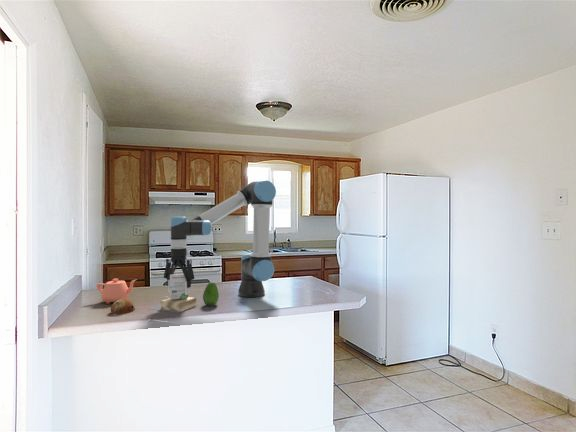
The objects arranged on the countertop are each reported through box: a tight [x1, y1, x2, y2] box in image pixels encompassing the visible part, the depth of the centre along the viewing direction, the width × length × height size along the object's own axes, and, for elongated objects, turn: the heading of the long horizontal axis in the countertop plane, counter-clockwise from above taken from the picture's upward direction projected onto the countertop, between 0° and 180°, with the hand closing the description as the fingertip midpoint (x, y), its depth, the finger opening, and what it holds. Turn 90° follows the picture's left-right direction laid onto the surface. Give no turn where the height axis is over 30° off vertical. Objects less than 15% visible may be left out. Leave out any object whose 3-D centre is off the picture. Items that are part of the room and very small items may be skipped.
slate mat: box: [148, 304, 198, 314], centre depth 190 cm, size 18×16×1 cm
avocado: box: [202, 282, 220, 307], centre depth 194 cm, size 8×8×12 cm
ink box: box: [169, 273, 189, 299], centre depth 189 cm, size 8×5×12 cm, turn 108°
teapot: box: [96, 278, 138, 305], centre depth 203 cm, size 13×20×12 cm, turn 101°
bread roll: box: [110, 299, 136, 315], centre depth 182 cm, size 10×10×8 cm
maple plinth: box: [160, 296, 197, 313], centre depth 189 cm, size 12×12×4 cm
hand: (178, 293), depth 189 cm, fingers closed on ink box, 9 cm apart
